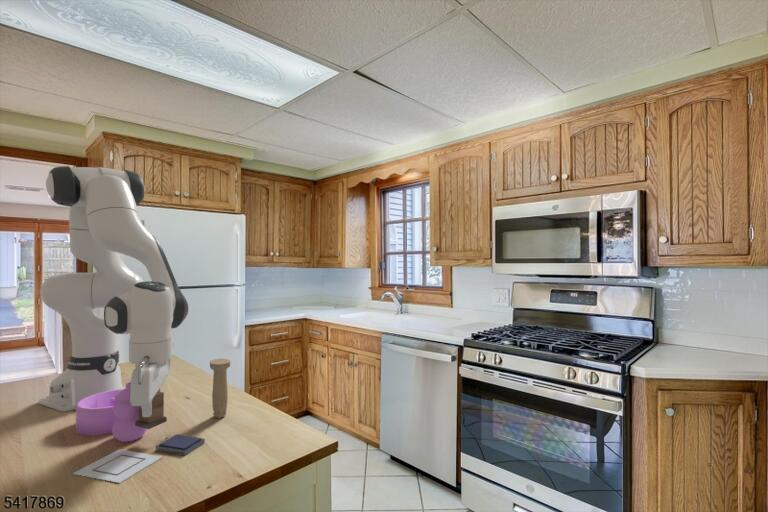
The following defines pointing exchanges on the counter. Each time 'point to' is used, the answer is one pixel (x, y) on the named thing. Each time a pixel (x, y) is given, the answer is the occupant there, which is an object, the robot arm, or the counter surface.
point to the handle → (219, 386)
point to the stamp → (157, 413)
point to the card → (118, 466)
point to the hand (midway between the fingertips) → (151, 410)
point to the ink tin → (180, 444)
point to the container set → (109, 415)
